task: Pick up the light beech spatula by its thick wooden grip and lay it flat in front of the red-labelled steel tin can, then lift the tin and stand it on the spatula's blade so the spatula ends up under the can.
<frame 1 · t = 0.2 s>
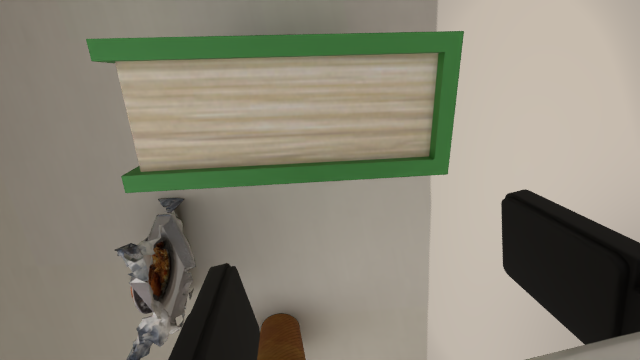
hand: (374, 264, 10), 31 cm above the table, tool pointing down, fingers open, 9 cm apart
hardback book: (290, 92, 38), on the table
disposable coffee cup: (280, 327, 50), on the table
meal: (178, 245, 44), on the table
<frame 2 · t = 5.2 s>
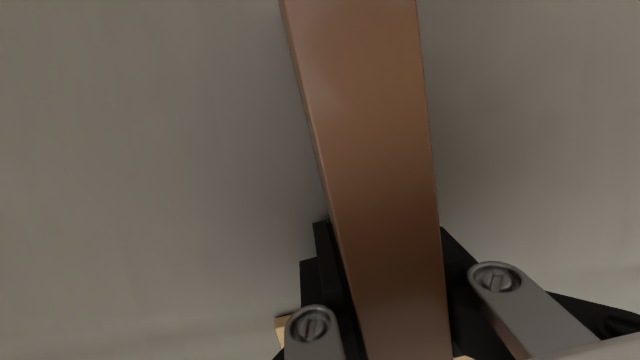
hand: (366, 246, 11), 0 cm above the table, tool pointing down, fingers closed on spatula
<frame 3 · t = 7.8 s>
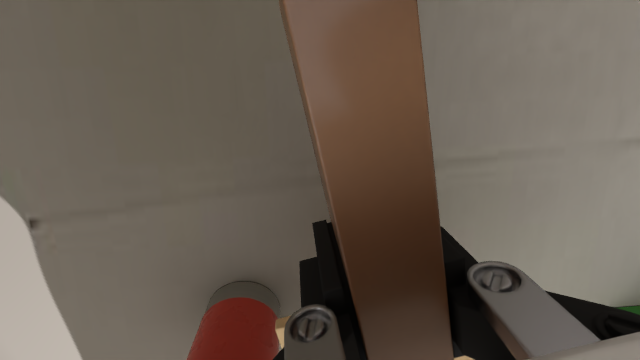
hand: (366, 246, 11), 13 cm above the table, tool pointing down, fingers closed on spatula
tin can: (244, 310, 28), on the table
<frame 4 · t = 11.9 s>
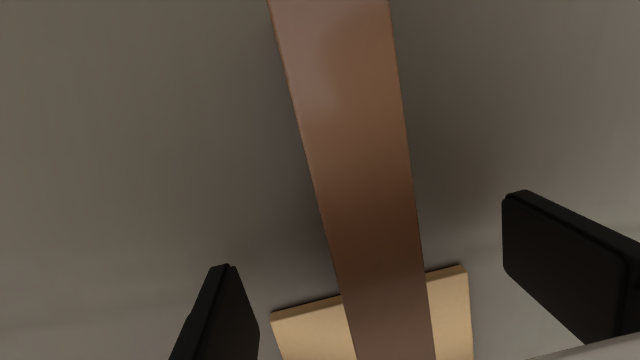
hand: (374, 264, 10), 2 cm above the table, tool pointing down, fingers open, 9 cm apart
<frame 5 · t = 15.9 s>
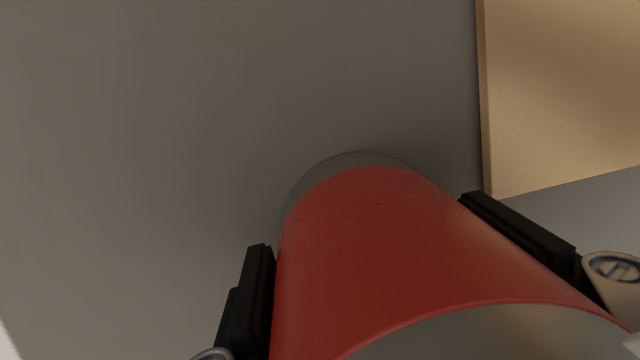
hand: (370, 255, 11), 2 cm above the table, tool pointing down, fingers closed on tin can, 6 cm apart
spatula: (586, 51, 11), on the table
tin can: (357, 226, 13), on the table, touching gripper
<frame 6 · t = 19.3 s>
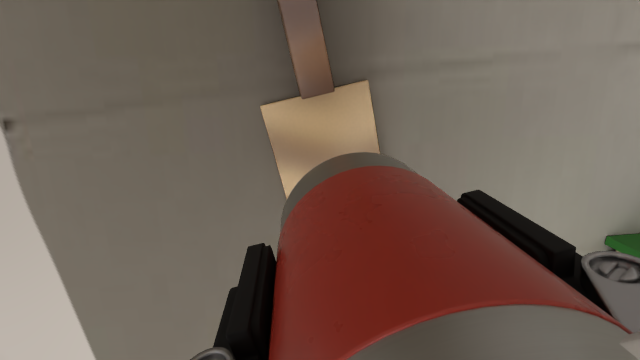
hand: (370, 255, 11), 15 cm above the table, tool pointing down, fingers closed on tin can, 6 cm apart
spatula: (327, 152, 25), on the table
tin can: (357, 226, 13), point 13 cm above the table, touching gripper
when the fingers open (3 cm above the table, at t = 22.7 s): tin can stays where it is, resting on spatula.
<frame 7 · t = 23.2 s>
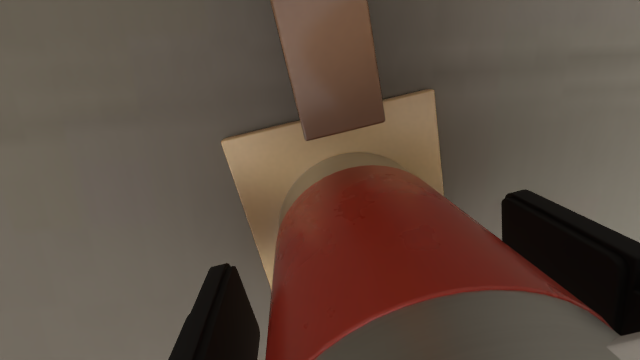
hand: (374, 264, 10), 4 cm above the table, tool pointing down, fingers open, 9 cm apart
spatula: (349, 220, 14), on the table, touching tin can
tin can: (353, 224, 13), point 1 cm above the table, touching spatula
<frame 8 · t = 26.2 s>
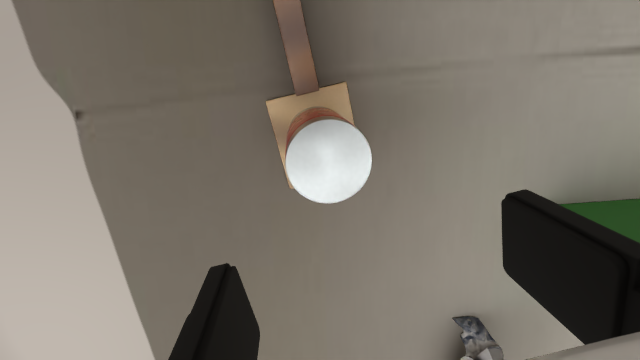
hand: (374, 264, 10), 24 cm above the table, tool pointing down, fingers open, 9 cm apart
hardback book: (595, 225, 41), on the table
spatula: (316, 137, 33), on the table, touching tin can
meal: (454, 354, 46), on the table
tin can: (317, 137, 33), point 1 cm above the table, touching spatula
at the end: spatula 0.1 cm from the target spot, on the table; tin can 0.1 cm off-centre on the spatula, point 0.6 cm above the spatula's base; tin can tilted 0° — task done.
